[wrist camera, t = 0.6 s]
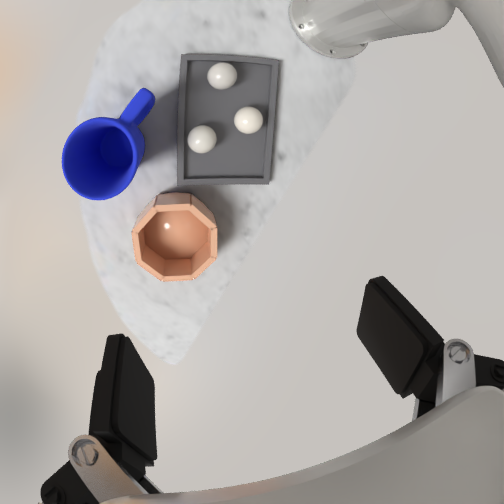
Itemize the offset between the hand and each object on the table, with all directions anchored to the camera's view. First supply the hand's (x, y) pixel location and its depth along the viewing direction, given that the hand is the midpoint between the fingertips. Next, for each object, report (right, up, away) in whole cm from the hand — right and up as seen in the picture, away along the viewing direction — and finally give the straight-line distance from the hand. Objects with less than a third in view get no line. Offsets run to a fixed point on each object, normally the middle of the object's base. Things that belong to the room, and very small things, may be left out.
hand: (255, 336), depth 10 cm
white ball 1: (-6, +17, +22) cm, 29 cm away
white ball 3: (-1, +20, +22) cm, 30 cm away
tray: (-3, +20, +22) cm, 30 cm away
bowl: (-11, +6, +27) cm, 30 cm away
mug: (-16, +18, +20) cm, 31 cm away
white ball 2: (-4, +24, +19) cm, 31 cm away
